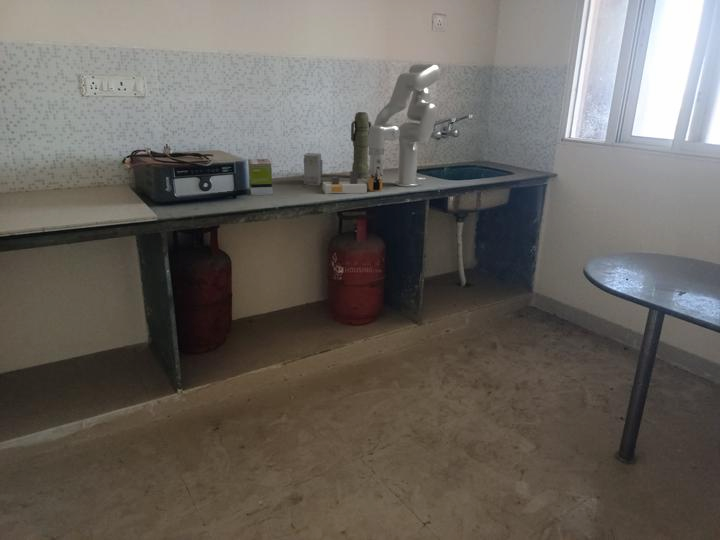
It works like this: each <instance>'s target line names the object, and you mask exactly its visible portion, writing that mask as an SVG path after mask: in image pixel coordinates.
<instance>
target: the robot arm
mask: <svg viewBox="0 0 720 540" xmlns="http://www.w3.org/2000/svg"><path fill="white" fill-rule="evenodd" d="M440 76H441V70H440V68H439V65H437V64H434V63H416V64H413V65H411V66H410V67H409V71H408V72H403V73H400V74H399V75H398V77H397V79H396V82H395V85H394V89H393V91H392V93H391V96H390V99H389V102H388V103H387V104H385V106H384V107H382V109H381V110H380V111H379V112H378V114H377V115H376V117H375V120H374V123H373V125H372V126H370V128H369V127H368V128H369V146H368V156H370V157H369V167H368V171H369V174H370V177H374V182H373V190H380V177H383V176H384V157H383V156H385V142H386V141H389V142H394V141H397V140H398V143H399V144H398V145H399V150H398V151H399V152H398V169H397V171H398V172H397V181H394V185H396V186H398V187H406V188H409V187H411V188H413V187H418V186H419V182H425V181H426V178H425V177H420V176H419V177H418V176H417V171H418V170H417V167H418V146H417V144H426V143H427V142H428V141H429V140H430V138H431V136H432V134H433V130H434V126H435V124H436V121H437V117H438V108H437V106H436V105H435V104H434V103H433V102H429V98H430V95H431V94H430V88H429V87H430V86H432V85H434V84H435V83H436V82H438V80H439V79H440ZM411 93H412V95H411ZM410 96H411V99H410ZM409 100H410V101H409ZM408 103H409V105H408ZM407 105H408V107H407ZM406 107H407V112H406V116H407V118H408V120H409V121H413V122H404V123H402V124H400V126H399V127H398V126H397V125H394V124H387V122H388V121H390V119H391V118H392V117H393V116H394V115H396V114H398V113H400V112H402V111H404V110H405V109H406ZM417 122H419V123H417Z"/></svg>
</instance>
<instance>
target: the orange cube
mask: <svg viewBox="0 0 720 540" xmlns="http://www.w3.org/2000/svg"><path fill="white" fill-rule="evenodd" d="M373 182H374V177H371V176H368V178H367V189H368V190H369V191H370V192H382V191H383V177H382V176H380V190H373Z"/></svg>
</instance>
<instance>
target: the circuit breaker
mask: <svg viewBox="0 0 720 540" xmlns="http://www.w3.org/2000/svg"><path fill="white" fill-rule="evenodd" d="M322 175H323V159H322V154H321V153H317V152H316V153H313V152H311V153H309V152H306V153H304V154H303V182H304V183H303V185H304V184H308V185H309V186H319V185H320V184H321V183H322ZM308 185H307V186H308Z"/></svg>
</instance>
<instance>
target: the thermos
mask: <svg viewBox="0 0 720 540" xmlns="http://www.w3.org/2000/svg"><path fill="white" fill-rule="evenodd" d="M369 119H370V118H369V115H368V112H364V111H363V112H361V111H358V112H356V113H355V115H354V120H353V121H352V122H351V125H350V142H352V147H353V162H352V169H351V170H352V171H357V172H358V173H357V178H365V179H368V178H367V177H369V164H368V156H369V155H368V153H369V128H370V126H373V125H372V122H371V121H369Z"/></svg>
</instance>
